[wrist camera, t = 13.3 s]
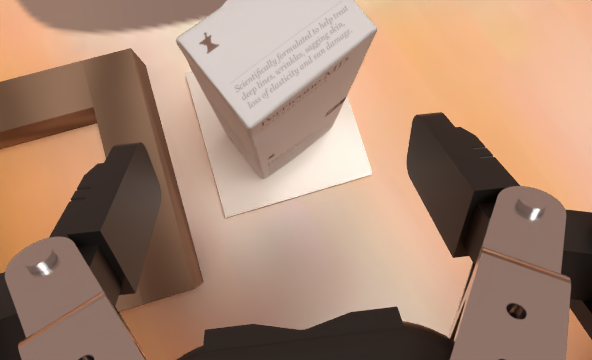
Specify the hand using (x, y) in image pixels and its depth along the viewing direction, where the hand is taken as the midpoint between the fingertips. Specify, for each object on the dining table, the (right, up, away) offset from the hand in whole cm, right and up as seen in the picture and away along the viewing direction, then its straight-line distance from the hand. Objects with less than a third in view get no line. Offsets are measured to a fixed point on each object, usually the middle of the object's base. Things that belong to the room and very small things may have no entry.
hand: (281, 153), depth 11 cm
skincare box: (-1, +3, +14) cm, 14 cm away
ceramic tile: (-1, +3, +14) cm, 14 cm away
